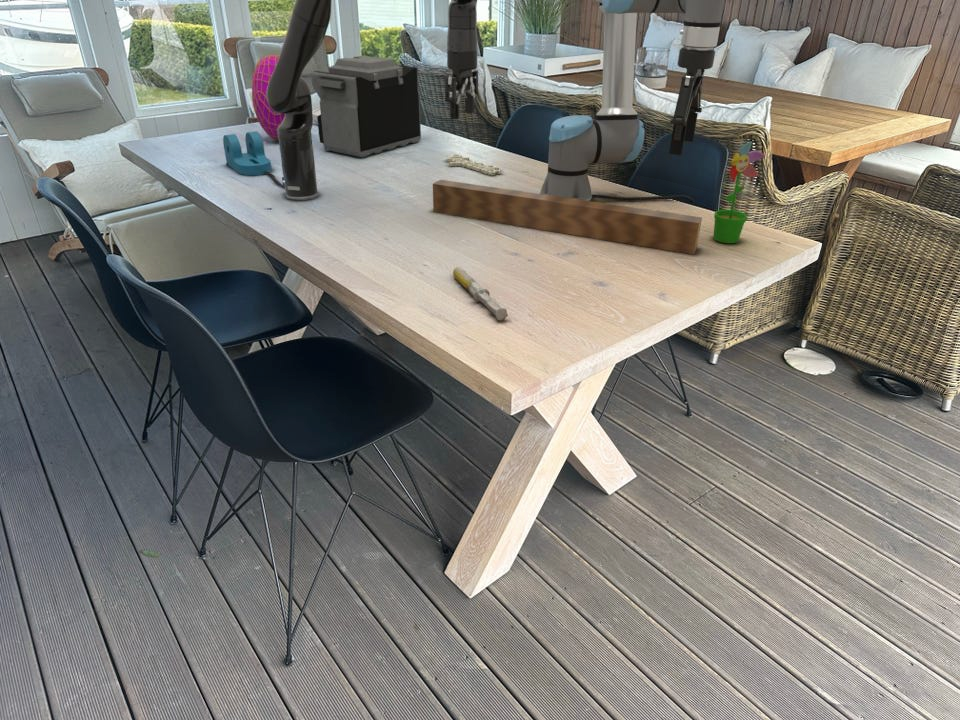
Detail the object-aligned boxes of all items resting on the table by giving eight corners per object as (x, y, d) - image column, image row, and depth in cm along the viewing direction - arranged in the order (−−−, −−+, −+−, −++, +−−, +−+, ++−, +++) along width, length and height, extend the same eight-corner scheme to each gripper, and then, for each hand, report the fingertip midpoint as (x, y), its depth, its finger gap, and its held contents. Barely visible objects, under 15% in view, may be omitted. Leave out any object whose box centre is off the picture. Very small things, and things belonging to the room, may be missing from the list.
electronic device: (383, 133, 276) (378, 52, 261) (425, 141, 265) (422, 56, 250) (314, 150, 251) (304, 61, 235) (358, 160, 240) (350, 67, 224)
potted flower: (724, 247, 171) (744, 145, 158) (701, 237, 177) (720, 137, 164) (751, 241, 175) (774, 141, 162) (728, 231, 181) (748, 134, 168)
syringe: (449, 274, 155) (449, 263, 153) (465, 272, 156) (464, 260, 154) (490, 323, 135) (491, 310, 133) (508, 319, 136) (508, 307, 134)
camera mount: (227, 164, 233) (221, 132, 227) (257, 160, 238) (252, 129, 233) (244, 176, 220) (239, 143, 215) (276, 172, 225) (271, 139, 220)
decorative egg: (293, 132, 276) (283, 50, 261) (319, 140, 264) (310, 56, 249) (249, 139, 265) (236, 54, 250) (273, 148, 253) (261, 60, 238)
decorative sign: (435, 158, 239) (457, 153, 245) (435, 161, 240) (457, 156, 245) (485, 174, 222) (507, 169, 228) (485, 177, 223) (507, 172, 228)
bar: (696, 248, 171) (702, 217, 167) (693, 254, 167) (698, 223, 163) (440, 207, 197) (440, 179, 192) (433, 211, 193) (432, 183, 189)
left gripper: (461, 44, 177) (461, 110, 185) (435, 50, 166) (436, 119, 174) (487, 46, 175) (486, 112, 183) (463, 52, 163) (462, 122, 172)
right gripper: (691, 40, 159) (676, 134, 170) (668, 53, 140) (653, 158, 151) (724, 42, 157) (706, 137, 168) (705, 56, 137) (687, 162, 148)
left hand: (462, 116), depth 179 cm, fingers open, 8 cm apart
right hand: (681, 147), depth 159 cm, fingers open, 13 cm apart
